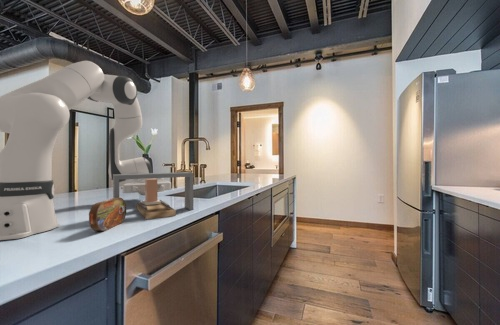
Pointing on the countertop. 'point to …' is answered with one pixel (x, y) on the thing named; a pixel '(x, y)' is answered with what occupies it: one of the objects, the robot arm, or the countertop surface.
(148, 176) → the archway
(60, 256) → the countertop surface
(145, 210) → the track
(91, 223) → the tin
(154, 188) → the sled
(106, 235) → the countertop surface
